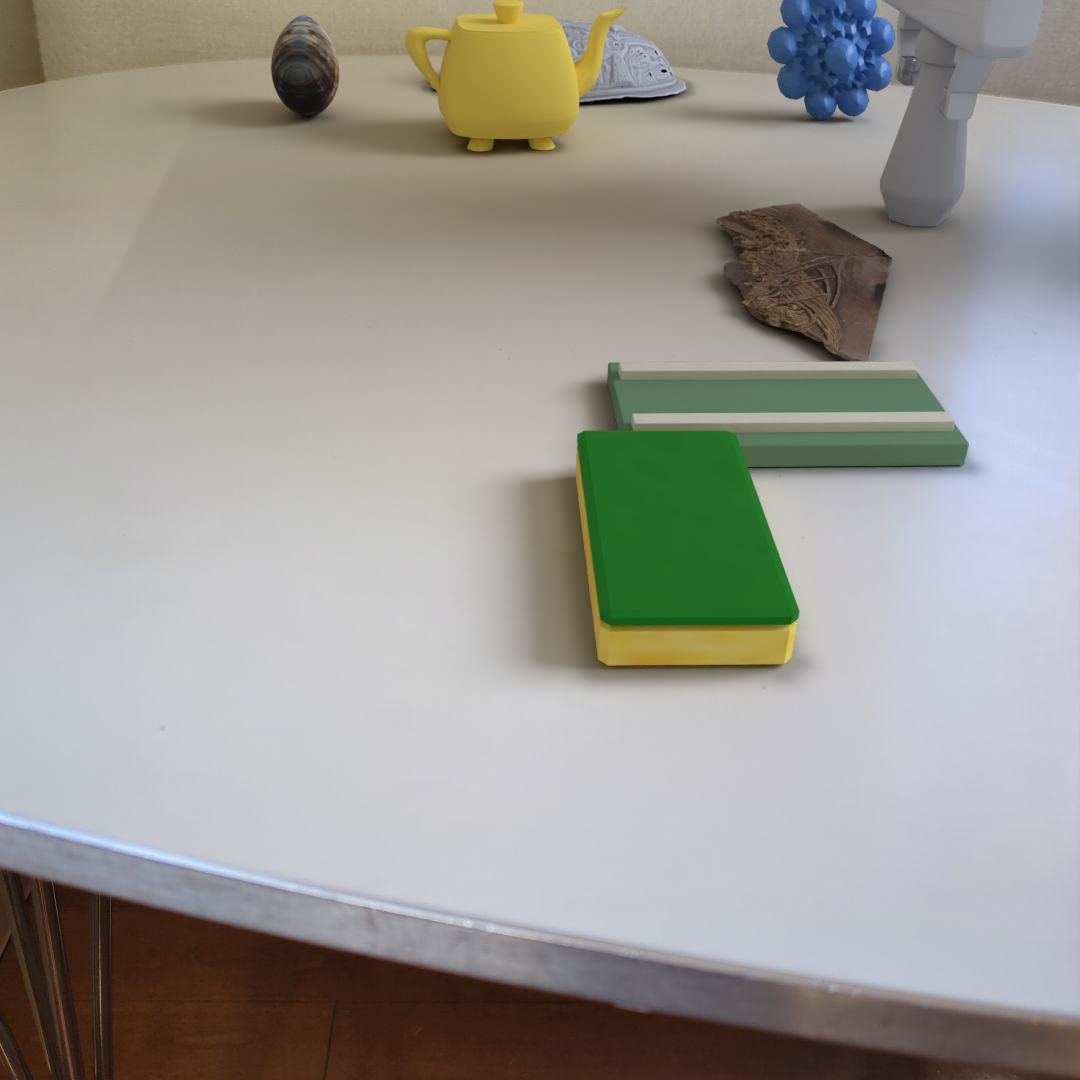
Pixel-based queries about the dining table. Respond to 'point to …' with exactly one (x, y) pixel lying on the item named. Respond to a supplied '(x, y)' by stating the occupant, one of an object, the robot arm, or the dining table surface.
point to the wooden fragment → (808, 276)
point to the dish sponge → (680, 552)
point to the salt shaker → (926, 144)
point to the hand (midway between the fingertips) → (930, 100)
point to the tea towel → (794, 410)
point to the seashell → (305, 67)
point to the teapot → (510, 74)
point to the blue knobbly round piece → (831, 54)
